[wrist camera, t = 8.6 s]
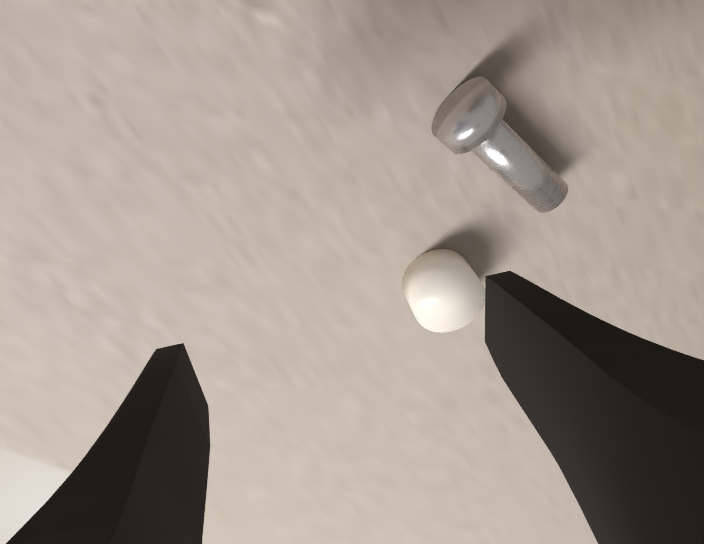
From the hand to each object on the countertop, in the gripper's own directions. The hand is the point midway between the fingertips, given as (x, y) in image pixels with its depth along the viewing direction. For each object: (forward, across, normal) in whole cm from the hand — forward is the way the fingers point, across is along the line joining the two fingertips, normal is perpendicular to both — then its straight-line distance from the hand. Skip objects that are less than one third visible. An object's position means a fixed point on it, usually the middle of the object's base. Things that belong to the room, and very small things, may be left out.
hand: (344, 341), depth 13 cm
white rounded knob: (+10, -5, +6) cm, 13 cm away
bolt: (+10, -8, 0) cm, 13 cm away
